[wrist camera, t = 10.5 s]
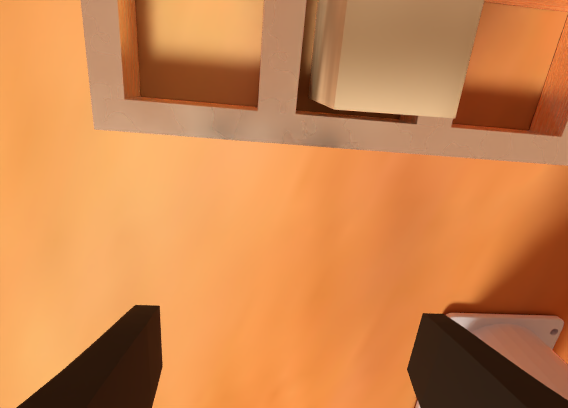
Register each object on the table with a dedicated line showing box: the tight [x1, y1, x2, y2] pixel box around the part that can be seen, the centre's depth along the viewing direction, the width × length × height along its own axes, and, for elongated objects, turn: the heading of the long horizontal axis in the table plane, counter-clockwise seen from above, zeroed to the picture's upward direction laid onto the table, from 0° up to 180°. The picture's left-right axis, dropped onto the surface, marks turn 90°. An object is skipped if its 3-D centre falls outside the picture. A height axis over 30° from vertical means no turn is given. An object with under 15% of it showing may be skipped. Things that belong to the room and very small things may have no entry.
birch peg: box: [308, 0, 484, 118], centre depth 13 cm, size 4×4×6 cm
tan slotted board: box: [81, 0, 568, 166], centre depth 15 cm, size 8×22×2 cm, turn 85°
